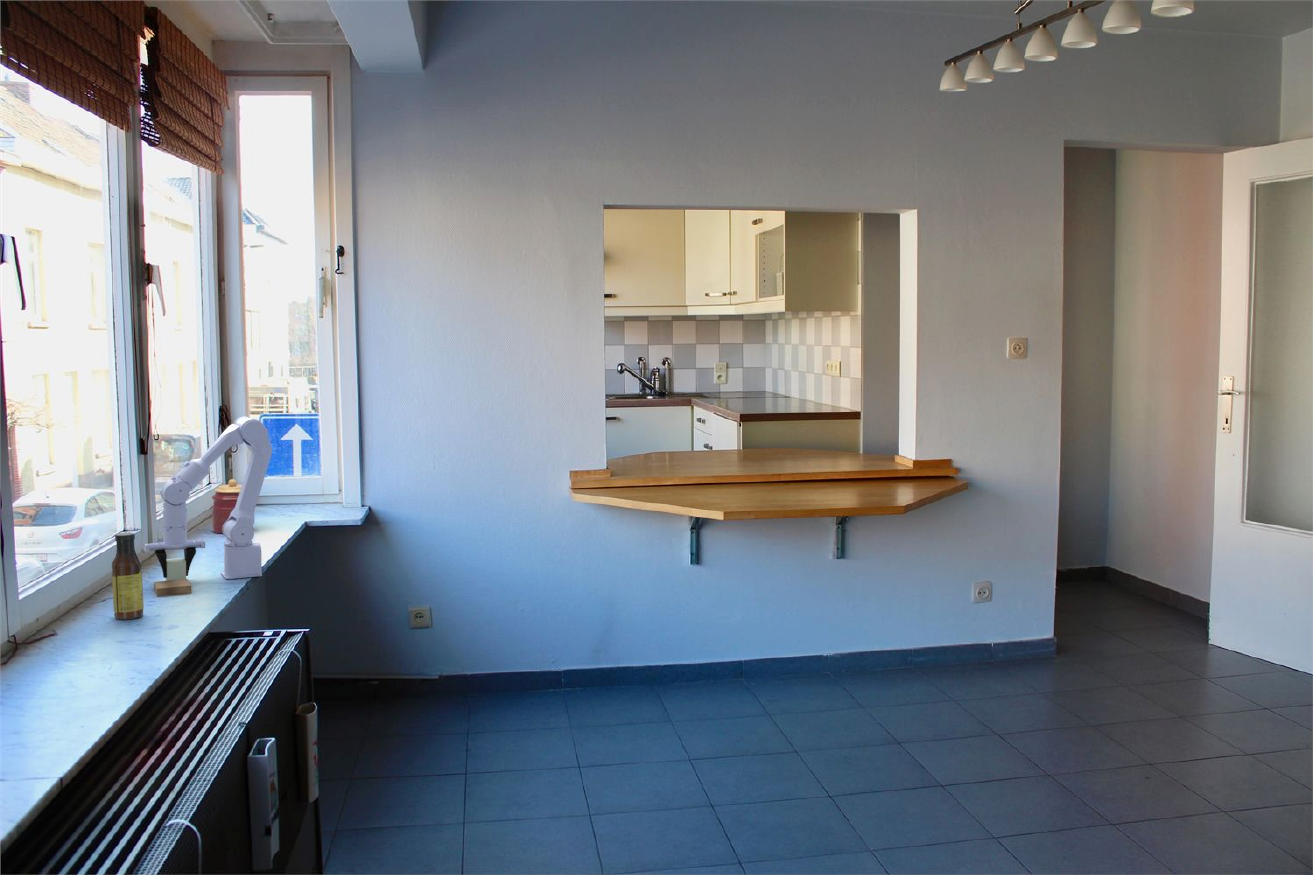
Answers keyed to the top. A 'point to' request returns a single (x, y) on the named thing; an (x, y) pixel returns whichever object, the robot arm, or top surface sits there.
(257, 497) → the robot arm
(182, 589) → the walnut base block
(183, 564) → the sage block
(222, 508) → the canister
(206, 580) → the top surface
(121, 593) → the sauce bottle
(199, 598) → the top surface
